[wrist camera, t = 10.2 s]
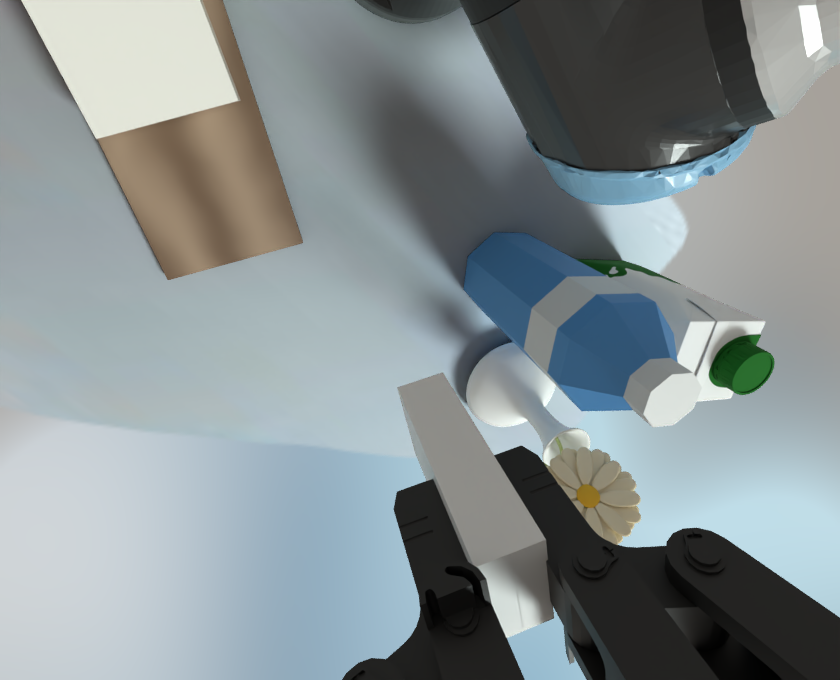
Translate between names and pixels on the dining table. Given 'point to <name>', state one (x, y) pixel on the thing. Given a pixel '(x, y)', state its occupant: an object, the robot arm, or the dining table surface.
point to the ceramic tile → (135, 59)
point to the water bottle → (582, 329)
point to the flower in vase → (554, 440)
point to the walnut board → (206, 178)
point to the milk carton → (701, 331)
